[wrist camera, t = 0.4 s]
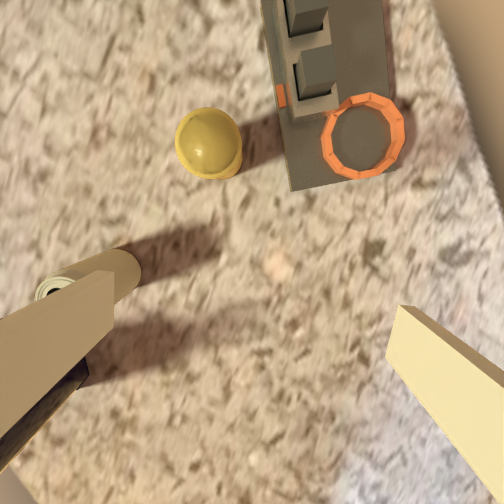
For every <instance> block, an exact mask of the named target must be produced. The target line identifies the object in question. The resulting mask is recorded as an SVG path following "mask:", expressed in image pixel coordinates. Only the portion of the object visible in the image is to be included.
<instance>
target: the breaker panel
mask: <svg viewBox="0 0 504 504" xmlns="http://www.w3.org/2000/svg"><path fill="white" fill-rule="evenodd" d="M285 3H286V0H261V7H260V9H261V15H262V22H263V28H264V34H265V40H266V46H267V52H268V58H269V64H270V70H271V76H272V82H273V88H274V94H275V100H276V106H277V112H278V119H279V125H280V131H281V137H282V143H283V149H284V155H285V161H286V167H287V173H288V179H289V185H290V191H291V192H293V191H298V190H303V189H308V188H313V187H318V186H323V185H328V184H333V183H338V182H343V181H348V180H353V179H351V178H348V177H345V176H342V175H339V174H337V173H335V172H334V170H333V169H332V168H331V167H330V165H329V164H328V163H327V161H326V160H325V159H324V157H323V150H322V143H321V135H322V132H323V129H324V127H325V124H326V121H327V118H328V117H329V116H330V115H331V114H333V113H335V112H336V111H337V110H338V109H339V106H340V105H341V104H342V103H343V102H344V101H345V100H346V99H347V98H348V97H351V96H356V95H360V94H365V93H370V92H372V93H374V94H377V95H379V96H382V97H385V98H387V99H390V93H389V81H388V69H387V57H386V45H385V33H384V21H383V9H382V0H328V4H329V7H328V10H327V12H326V15H325V17H324V20H323V22H322V25H321V27H320V30H319V31H317V32H313V33H309V34H304V35H300V36H296V37H292V38H289V35H288V28H287V21H286V15H285ZM330 44H333V46H334V54H335V62H336V71H337V79H338V80H337V81H336V82H335V84H334V85H333V86H332V88H331V89H330V90H329V92H328V93H327V94H326V95H325V96H321V97H316V98H312V99H307V100H303V101H298V95H297V89H296V82H295V75H294V71H295V68H296V65H297V62H298V58H299V55H300V52H301V51H304V50H308V49H313V48H317V47H321V46H326V45H330ZM331 140H332V147H333V153H334V154H335V156H336V157H337V158H338V160H339V161H340V162H341V163H342V165H343V166H344V167H347V168H350V169H353V170H355V171H358V172H361V171H366V170H371V169H372V168H373V167H375V166H376V165H377V164H378V163H379V162H381V161H382V160H383V159H384V158H385V156H386V153H387V151H388V149H389V146H390V144H391V130H390V123H389V122H388V121H387V119H386V118H385V117H384V115H383V114H382V112H381V111H380V110H378V109H375V108H372V107H370V106H367V105H360V106H355V107H350V108H347V109H346V110H345V111H344V112H343V113H341V114H340V115H339V116H338V117H337V120H336V123H335V125H334V128H333V130H332V133H331ZM392 171H396V164H395V162H394V163H393V164H391V165H390V166H389V167H388V168H387V169H385V170H384V171H383V172H382V173H387V172H392ZM382 173H381V174H382Z"/></svg>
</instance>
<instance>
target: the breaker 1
mask: <svg viewBox="0 0 504 504" xmlns="http://www.w3.org/2000/svg"><path fill="white" fill-rule="evenodd" d="M328 7H329V4H328V0H286V3H285V15H286V21H287V28H288V35H289V38H292V37H296V36H300V35H304V34H309V33H313V32H317V31H319V30H320V27H321V25H322V22H323V20H324V17H325V15H326V12H327V10H328Z"/></svg>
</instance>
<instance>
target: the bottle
mask: <svg viewBox="0 0 504 504" xmlns="http://www.w3.org/2000/svg"><path fill="white" fill-rule="evenodd" d="M88 376H89V371H88V367H87V363H86V360H85V356H84V357H83V358H82V359H81V360H80V361H79V362H78V363H77V364H76V365H75V366H74V367H73V368H72V369H71V370H69V371H68V372H67V373H66V374H65V375H64V376H63V377H62V378H61V379H60V380H59V381H58V382H57V383H56V384H55V385H54V386H53V387H52V388H51V389H50V390H49V391H48V392H47V393H46V394H45V395H44V396H43V397H42V398H41V399H40V400H39V401H38V402H37V403H36V404H35V405H34V406H33V407H32V408H31V409H30V410H29V411H28V412H27V413H26V414H24V415H23V416H22V417H21V418H20V419H19V420H18V421H17V422H16V423H15V424H14V425H13V426H12V427H11V428H10V429H9V430H8V431H7V432H6V433H5V434H4V435H3V436H2V437H1V438H0V474H1V473H2V471H3V470H4V469H5V468H6V467H7V466H8V465H9V464H10V463H11V462H12V460H13V459H14V458H15V457H16V456H17V455H18V454H19V453H20V452H21V451H22V449H23V448H24V447H25V446H26V445H27V444H28V443H29V442H30V441H31V439H32V438H33V437H34V436H35V435H36V434H37V433H38V432H39V431H40V430H41V428H42V427H43V426H44V425H45V424H46V423H47V422H48V421H49V420H50V419H51V417H52V416H53V415H54V414H55V413H56V412H57V411H58V410H59V409H60V408H61V406H62V405H63V404H64V403H65V402H66V401H67V400H68V399H69V398H70V396H71V395H72V394H73V393H74V392H75V391H76V390H78V389H79V388H80V386H81V385H82V384H83V382H84V381H85V380H86V379H87V377H88Z"/></svg>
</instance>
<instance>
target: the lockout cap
mask: <svg viewBox="0 0 504 504" xmlns="http://www.w3.org/2000/svg"><path fill="white" fill-rule="evenodd" d="M175 148H176V152H177V156H178V158H179V160H180V162H181V163H182V164H183V166H184V167H185V168H186V169H187V170H188V171H189V172H191V173H192V174H194V175H196V176H198V177H202V178H206V179H228V178H230V177H232V176H234V175H235V174H236V173H237V172H238V171H239V169H240V167H241V165H242V160H243V155H242V139H241V135H240V131H239V129H238V127H237V125H236V123H235V122H234V121H233V119H232V118H231V117H230V116H229V115H227V114H226V113H224V112H223V111H221V110H218V109H215V108H199V109H196V110H194V111H192V112H190V113H189V114H188V115H186V116H185V117H184V118H183V120H182V121H181V122H180V124H179V126H178V128H177V131H176V136H175Z"/></svg>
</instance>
